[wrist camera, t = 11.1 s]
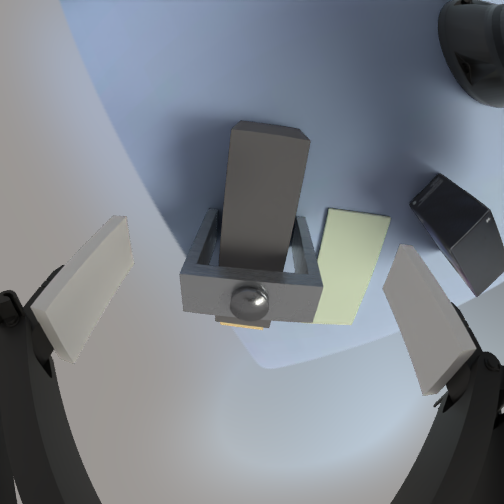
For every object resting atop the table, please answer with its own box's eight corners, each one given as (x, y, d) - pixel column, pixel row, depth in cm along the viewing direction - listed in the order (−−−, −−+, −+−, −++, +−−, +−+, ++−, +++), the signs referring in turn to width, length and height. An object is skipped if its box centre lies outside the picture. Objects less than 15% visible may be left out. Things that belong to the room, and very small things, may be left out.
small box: (405, 205, 30) (448, 250, 21) (439, 170, 27) (491, 205, 18) (440, 253, 33) (476, 301, 24) (469, 223, 30) (511, 265, 21)
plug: (240, 120, 26) (231, 129, 19) (299, 128, 26) (310, 140, 19) (223, 286, 38) (214, 329, 31) (267, 292, 38) (266, 336, 31)
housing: (208, 208, 31) (176, 280, 20) (305, 217, 31) (325, 293, 20) (208, 238, 33) (181, 317, 22) (299, 247, 33) (313, 329, 22)
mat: (328, 207, 31) (329, 209, 30) (389, 216, 31) (390, 218, 30) (301, 320, 40) (301, 322, 40) (351, 323, 40) (351, 324, 40)
